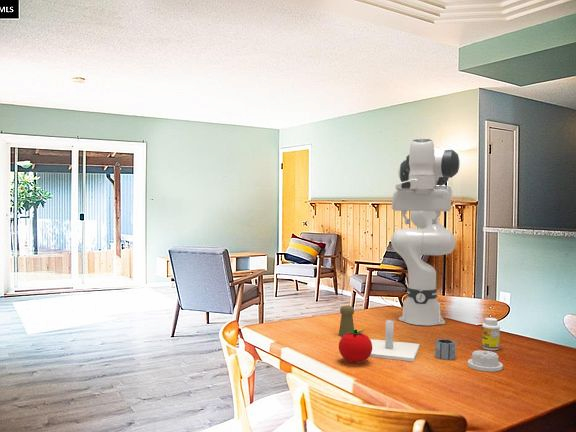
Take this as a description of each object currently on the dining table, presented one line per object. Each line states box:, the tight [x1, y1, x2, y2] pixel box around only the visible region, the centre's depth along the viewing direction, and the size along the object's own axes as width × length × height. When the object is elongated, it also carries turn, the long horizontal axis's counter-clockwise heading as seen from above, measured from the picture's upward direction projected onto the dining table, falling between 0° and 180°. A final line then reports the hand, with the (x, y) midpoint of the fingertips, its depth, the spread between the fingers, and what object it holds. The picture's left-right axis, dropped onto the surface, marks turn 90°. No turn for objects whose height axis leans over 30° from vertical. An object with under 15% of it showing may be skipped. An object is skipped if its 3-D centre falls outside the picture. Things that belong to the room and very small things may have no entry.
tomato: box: [338, 329, 372, 364], centre depth 164 cm, size 10×10×10 cm
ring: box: [434, 338, 457, 361], centre depth 170 cm, size 6×6×5 cm
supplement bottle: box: [481, 317, 501, 351], centre depth 180 cm, size 6×6×10 cm
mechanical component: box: [467, 349, 504, 373], centre depth 160 cm, size 10×4×10 cm
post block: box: [369, 319, 420, 362], centre depth 176 cm, size 18×18×10 cm
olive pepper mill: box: [338, 305, 355, 338], centre depth 196 cm, size 6×6×11 cm
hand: (420, 224), depth 185 cm, fingers open, 8 cm apart
